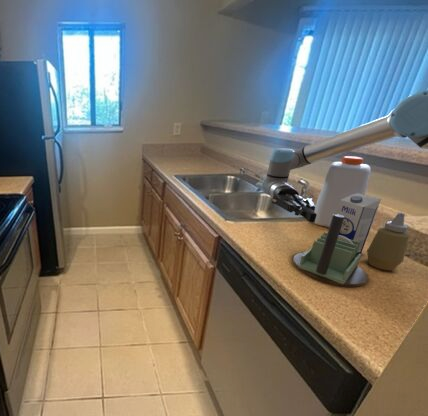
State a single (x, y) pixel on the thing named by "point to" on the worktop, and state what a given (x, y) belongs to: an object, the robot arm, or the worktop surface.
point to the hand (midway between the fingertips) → (312, 218)
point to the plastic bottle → (340, 187)
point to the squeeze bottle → (389, 244)
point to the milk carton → (357, 217)
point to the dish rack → (332, 254)
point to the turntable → (354, 280)
